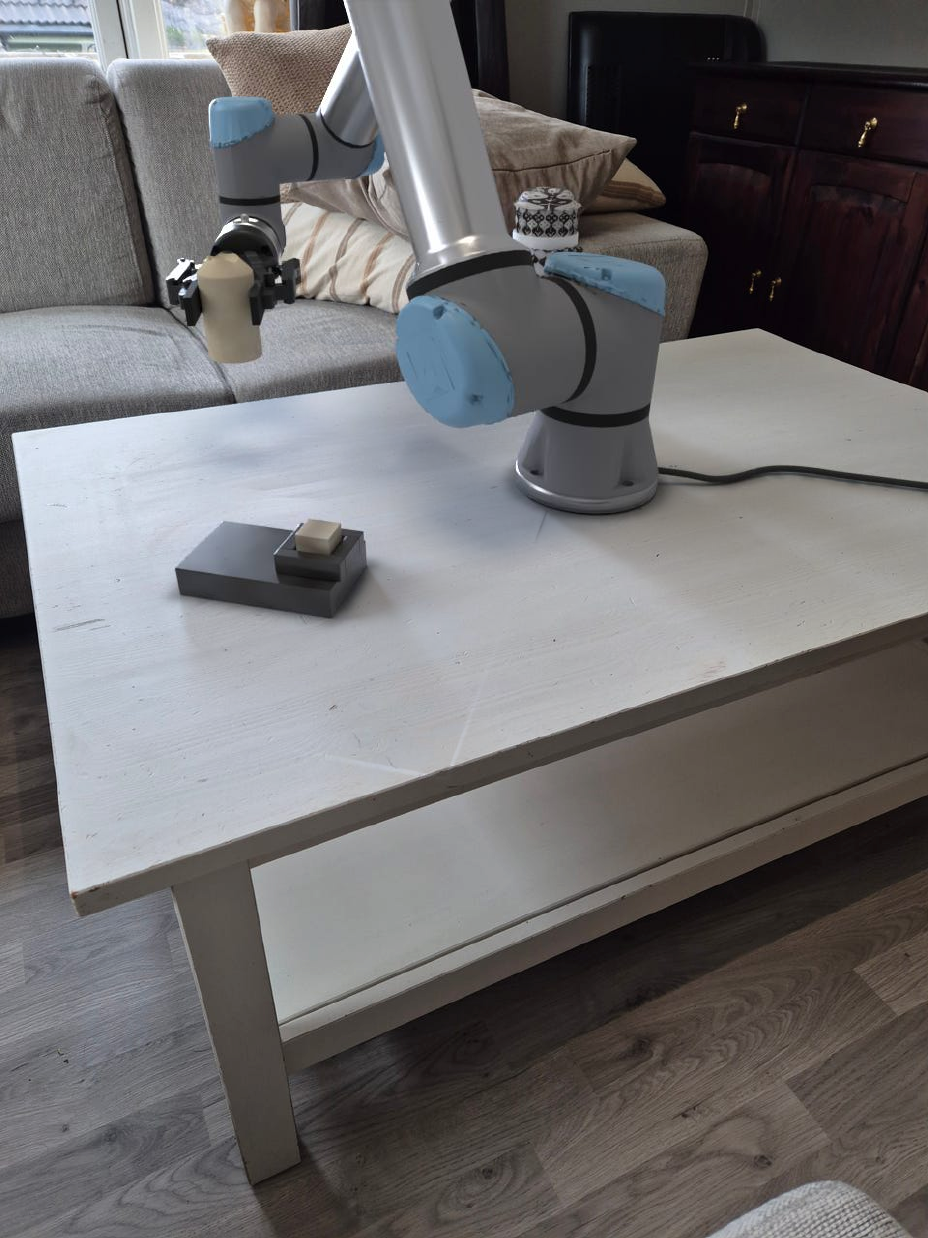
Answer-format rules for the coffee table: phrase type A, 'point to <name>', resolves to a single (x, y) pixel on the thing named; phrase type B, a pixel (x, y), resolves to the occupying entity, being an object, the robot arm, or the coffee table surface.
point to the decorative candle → (547, 223)
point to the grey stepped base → (271, 569)
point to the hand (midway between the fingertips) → (221, 311)
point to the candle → (228, 309)
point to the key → (319, 537)
